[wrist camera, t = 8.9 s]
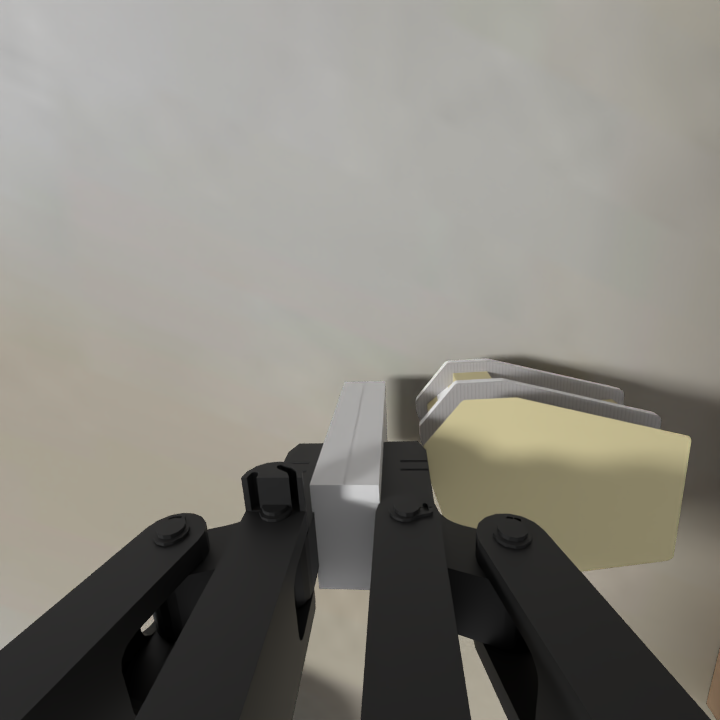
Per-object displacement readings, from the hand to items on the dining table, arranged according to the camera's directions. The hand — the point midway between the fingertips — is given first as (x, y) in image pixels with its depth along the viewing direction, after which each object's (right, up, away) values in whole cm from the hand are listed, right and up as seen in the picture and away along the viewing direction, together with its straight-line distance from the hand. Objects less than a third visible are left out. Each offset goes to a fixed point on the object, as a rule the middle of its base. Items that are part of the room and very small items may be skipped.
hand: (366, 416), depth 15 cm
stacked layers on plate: (+5, 0, +2) cm, 6 cm away
